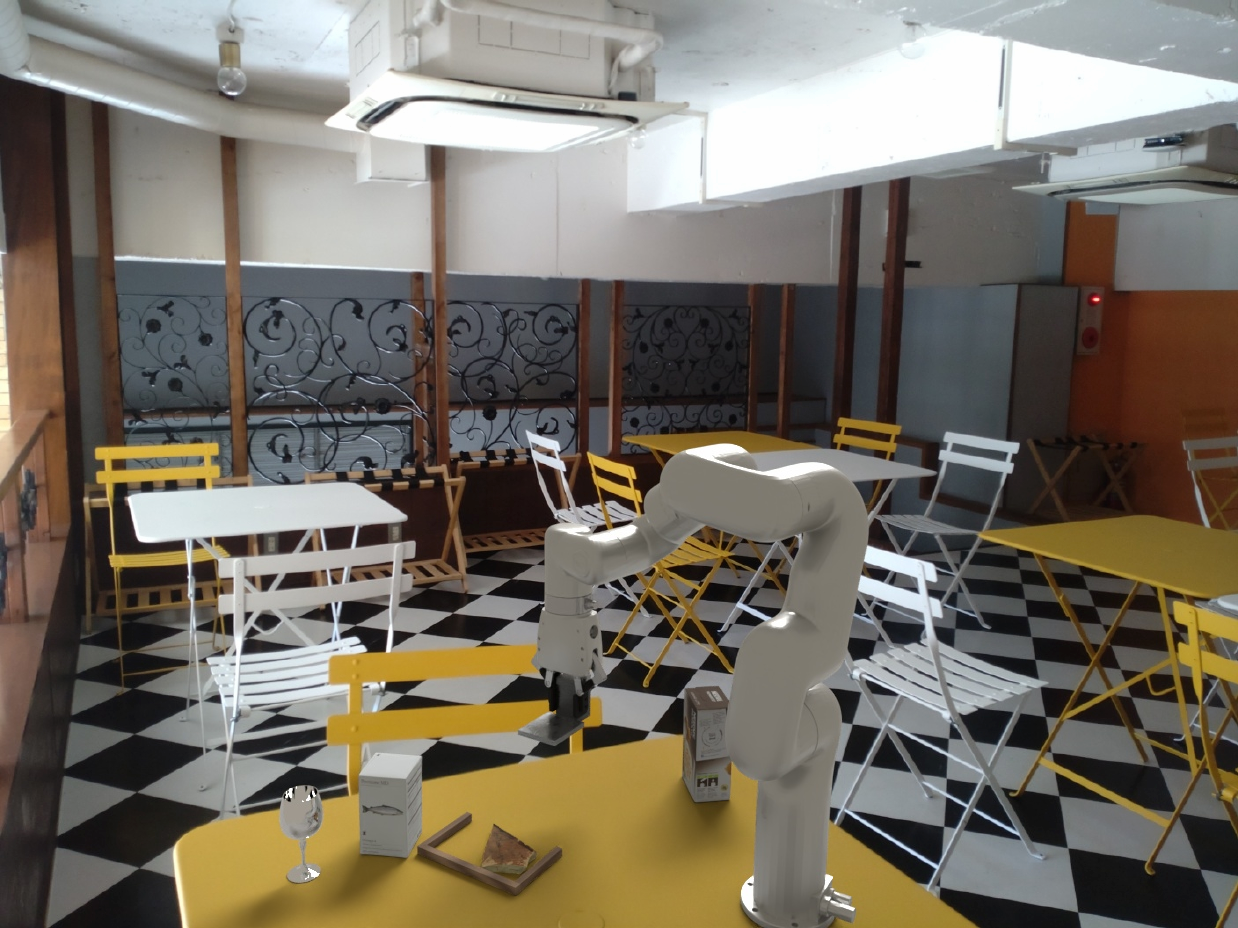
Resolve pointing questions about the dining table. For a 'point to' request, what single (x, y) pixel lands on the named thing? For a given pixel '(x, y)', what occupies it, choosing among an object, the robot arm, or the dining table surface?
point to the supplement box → (390, 804)
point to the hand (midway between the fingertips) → (568, 710)
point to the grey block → (557, 716)
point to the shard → (506, 853)
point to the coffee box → (706, 744)
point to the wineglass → (301, 825)
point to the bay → (478, 872)
